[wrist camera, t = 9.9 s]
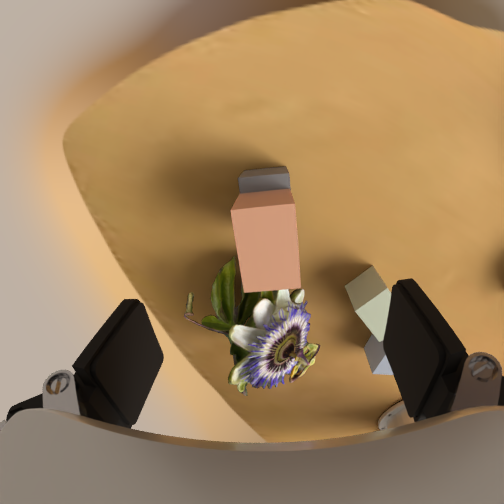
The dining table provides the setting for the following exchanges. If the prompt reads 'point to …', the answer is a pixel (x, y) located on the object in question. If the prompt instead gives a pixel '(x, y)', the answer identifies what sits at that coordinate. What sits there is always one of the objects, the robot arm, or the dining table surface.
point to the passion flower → (260, 331)
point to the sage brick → (370, 300)
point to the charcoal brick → (264, 180)
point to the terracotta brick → (267, 240)
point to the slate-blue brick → (377, 357)
